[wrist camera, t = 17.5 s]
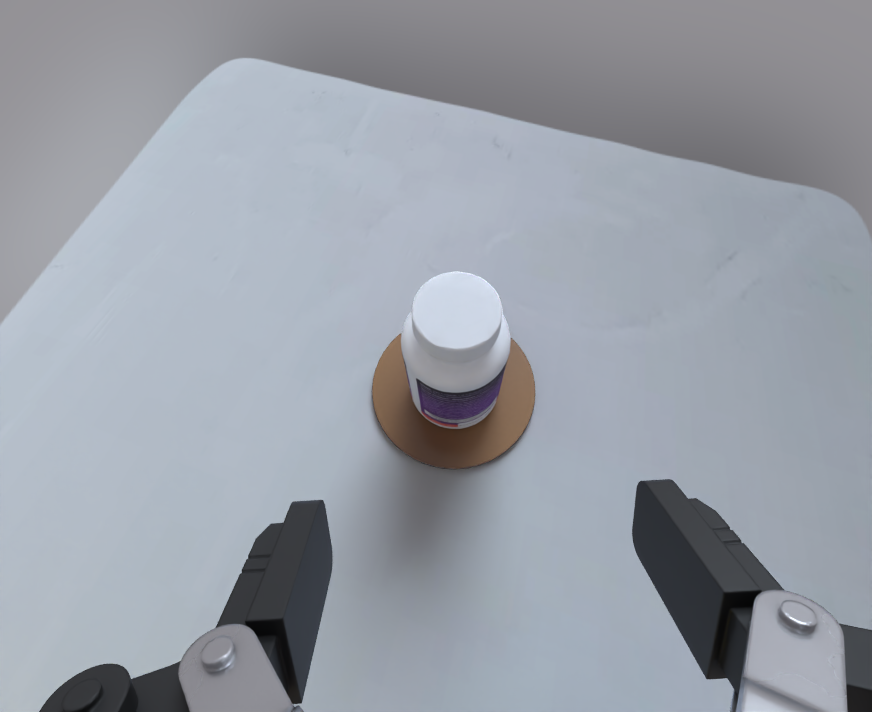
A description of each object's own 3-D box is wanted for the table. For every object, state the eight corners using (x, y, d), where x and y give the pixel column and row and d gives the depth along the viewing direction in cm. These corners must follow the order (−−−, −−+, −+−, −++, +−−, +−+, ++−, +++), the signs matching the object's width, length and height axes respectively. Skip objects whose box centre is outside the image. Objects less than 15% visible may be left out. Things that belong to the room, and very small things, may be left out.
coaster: (537, 324, 32) (537, 321, 32) (531, 478, 28) (532, 477, 28) (386, 310, 33) (385, 308, 33) (360, 459, 29) (358, 458, 28)
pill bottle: (516, 397, 30) (545, 320, 21) (445, 448, 29) (443, 391, 20) (462, 332, 32) (468, 238, 23) (393, 379, 30) (370, 297, 22)
